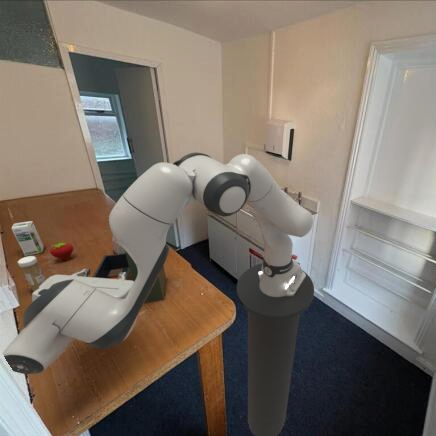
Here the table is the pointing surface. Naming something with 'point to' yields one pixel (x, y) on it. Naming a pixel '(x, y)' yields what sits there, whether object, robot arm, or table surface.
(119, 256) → the drawer
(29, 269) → the sprinkles bottle
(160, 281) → the pedestal
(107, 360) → the table surface
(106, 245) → the table surface
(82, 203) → the table surface
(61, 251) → the strawberry
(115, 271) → the orange bar brown end
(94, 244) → the table surface
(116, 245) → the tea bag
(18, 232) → the syrup box
